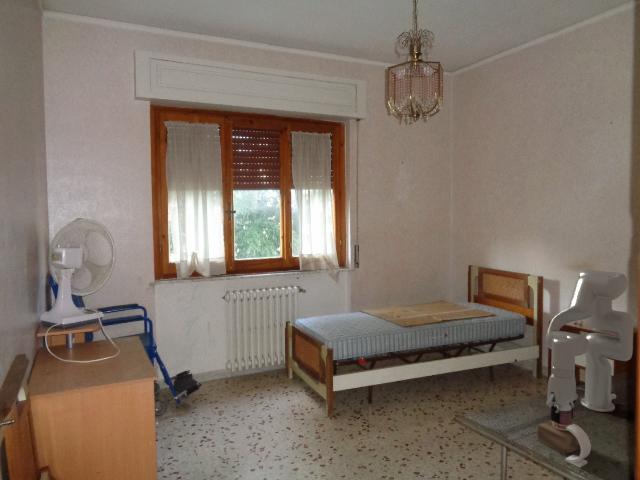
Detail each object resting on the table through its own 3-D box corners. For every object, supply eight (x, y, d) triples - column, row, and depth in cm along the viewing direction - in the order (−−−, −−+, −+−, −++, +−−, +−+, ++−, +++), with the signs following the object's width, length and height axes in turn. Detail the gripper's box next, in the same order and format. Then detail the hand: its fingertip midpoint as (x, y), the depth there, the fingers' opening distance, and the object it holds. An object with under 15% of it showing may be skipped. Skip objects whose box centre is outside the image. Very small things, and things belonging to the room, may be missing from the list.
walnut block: (558, 433, 179) (558, 418, 179) (585, 447, 170) (585, 431, 169) (537, 440, 175) (538, 424, 174) (564, 454, 165) (564, 438, 164)
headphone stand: (572, 456, 163) (573, 423, 162) (590, 465, 158) (591, 430, 157) (565, 460, 161) (566, 427, 160) (582, 469, 156) (583, 434, 155)
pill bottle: (574, 428, 171) (575, 399, 170) (565, 433, 168) (566, 403, 166) (558, 421, 176) (558, 393, 175) (548, 426, 173) (549, 397, 172)
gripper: (569, 364, 177) (568, 410, 179) (537, 372, 170) (536, 420, 171) (588, 370, 170) (587, 418, 172) (555, 379, 163) (554, 429, 164)
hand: (561, 419), depth 171 cm, fingers closed on pill bottle, 6 cm apart
